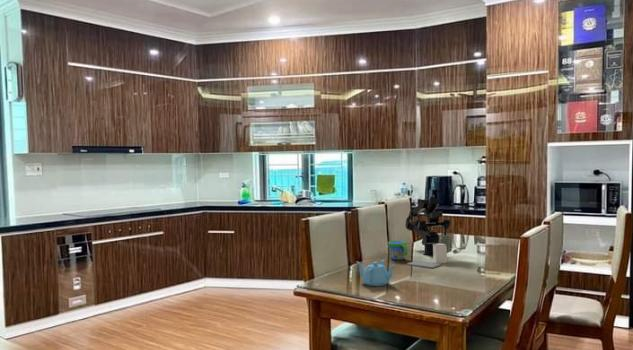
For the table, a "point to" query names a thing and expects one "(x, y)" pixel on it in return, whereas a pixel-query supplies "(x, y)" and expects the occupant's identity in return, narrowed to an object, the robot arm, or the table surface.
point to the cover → (440, 253)
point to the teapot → (375, 274)
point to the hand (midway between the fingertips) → (437, 235)
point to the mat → (424, 264)
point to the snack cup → (397, 249)
